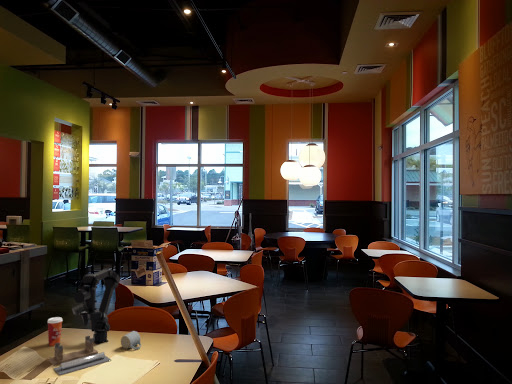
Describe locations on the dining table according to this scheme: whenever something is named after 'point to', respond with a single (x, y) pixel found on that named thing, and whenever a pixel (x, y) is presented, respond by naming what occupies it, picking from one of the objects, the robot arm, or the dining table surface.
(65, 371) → the grey flat tapered piece
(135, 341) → the ceramic mug
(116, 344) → the dining table surface
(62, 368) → the steel rod
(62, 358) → the hook stand
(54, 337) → the paper cup
